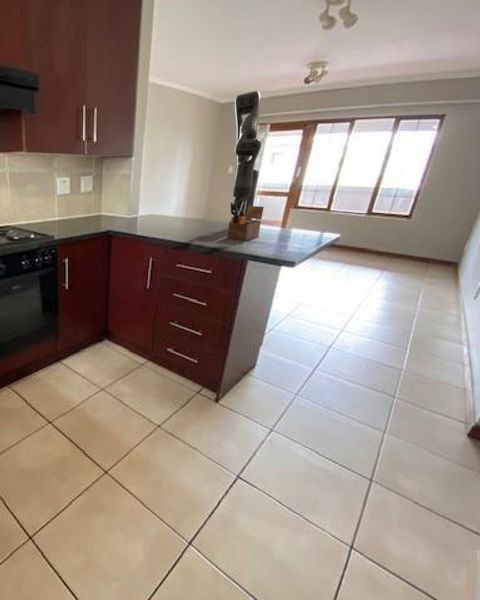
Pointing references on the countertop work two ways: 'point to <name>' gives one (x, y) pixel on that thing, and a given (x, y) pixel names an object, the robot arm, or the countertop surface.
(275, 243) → the countertop surface
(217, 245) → the countertop surface
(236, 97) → the robot arm
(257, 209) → the flap
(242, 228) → the carton
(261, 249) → the countertop surface
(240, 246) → the countertop surface
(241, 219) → the packet
